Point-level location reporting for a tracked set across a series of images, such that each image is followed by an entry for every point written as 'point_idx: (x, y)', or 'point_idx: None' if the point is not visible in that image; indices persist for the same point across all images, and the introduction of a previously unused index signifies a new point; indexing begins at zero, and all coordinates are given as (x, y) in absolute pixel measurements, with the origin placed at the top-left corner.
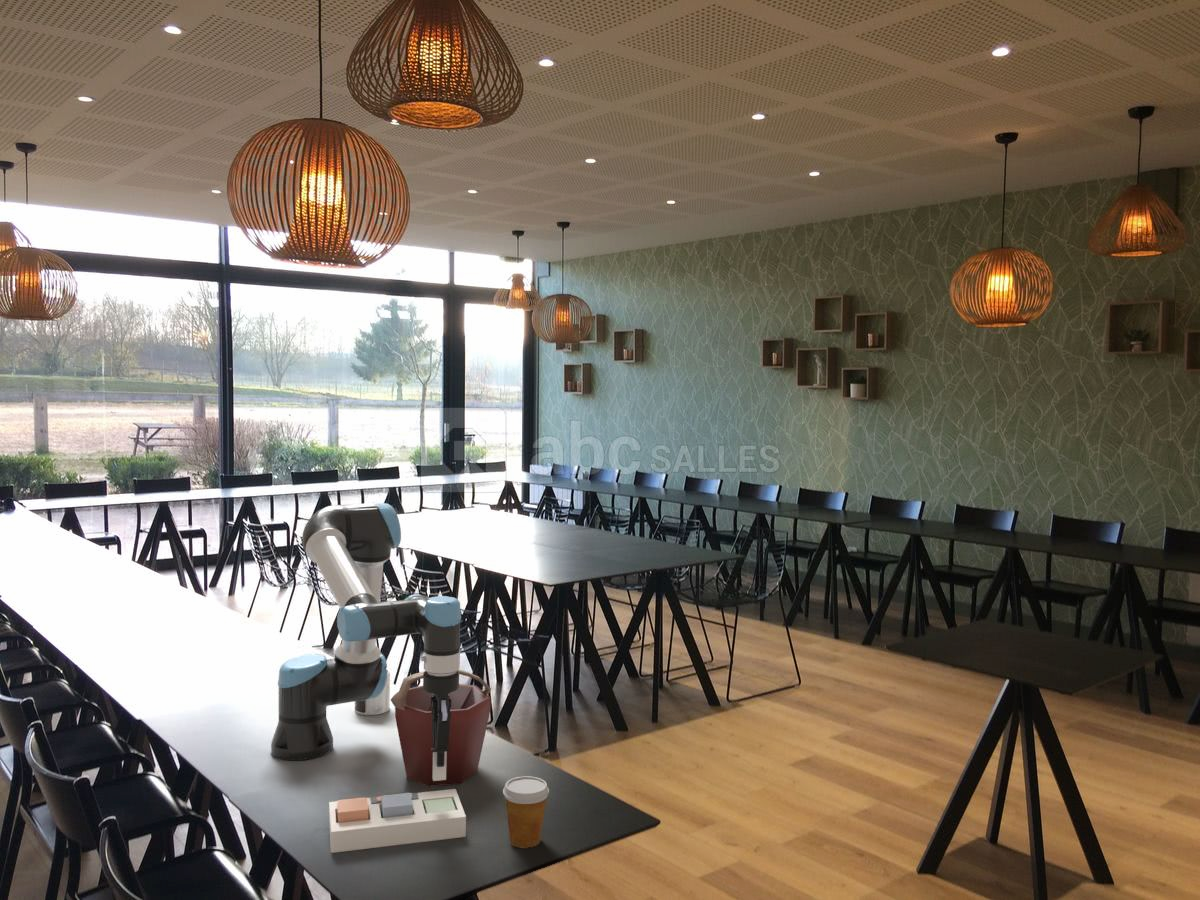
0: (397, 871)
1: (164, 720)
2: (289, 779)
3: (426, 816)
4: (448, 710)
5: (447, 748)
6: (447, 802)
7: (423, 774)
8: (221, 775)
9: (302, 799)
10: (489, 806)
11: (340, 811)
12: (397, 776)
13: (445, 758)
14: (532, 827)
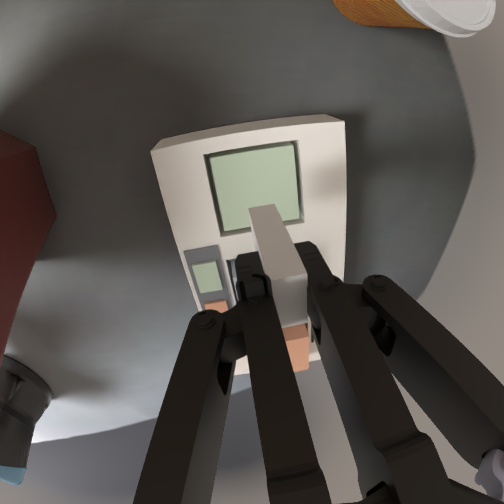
0: (410, 240)
1: (33, 437)
2: (95, 390)
3: (322, 219)
4: (449, 500)
5: (396, 288)
6: (241, 168)
7: (44, 240)
8: (108, 426)
9: (149, 380)
10: (158, 53)
11: (305, 367)
12: (35, 277)
13: (294, 251)
14: None
